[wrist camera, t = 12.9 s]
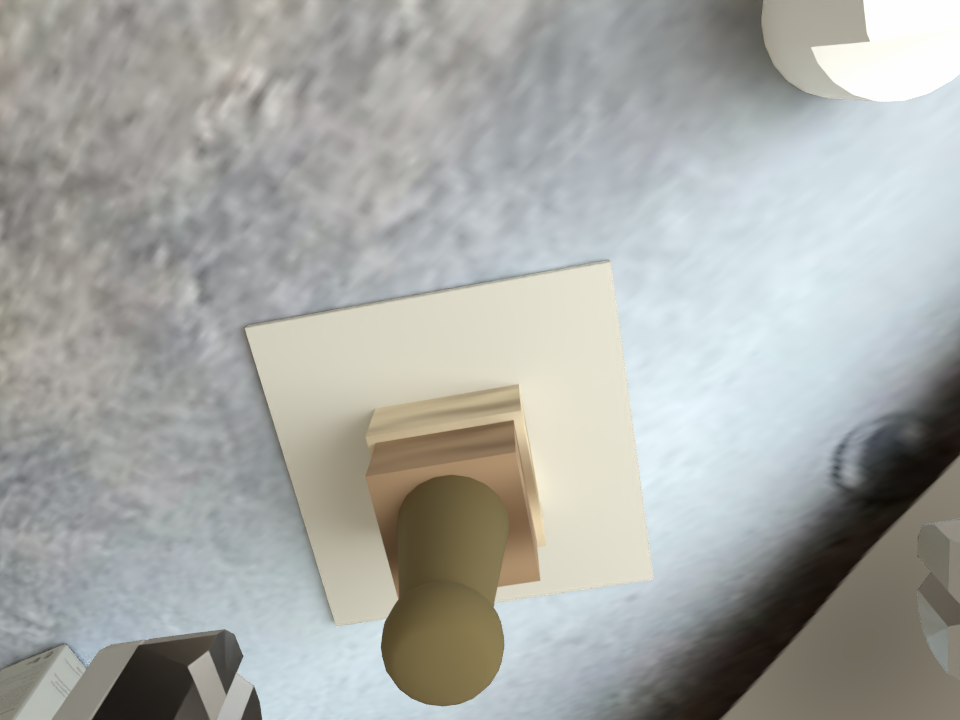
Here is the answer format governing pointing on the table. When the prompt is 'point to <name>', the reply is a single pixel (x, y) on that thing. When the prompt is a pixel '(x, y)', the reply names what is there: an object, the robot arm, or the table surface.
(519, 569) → the top block
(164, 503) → the table surface
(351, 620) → the felt mat
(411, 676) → the olive rounded upright piece
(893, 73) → the cylinder with rectangular tab
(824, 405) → the table surface
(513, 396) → the bottom block
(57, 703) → the skincare box
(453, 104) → the table surface
